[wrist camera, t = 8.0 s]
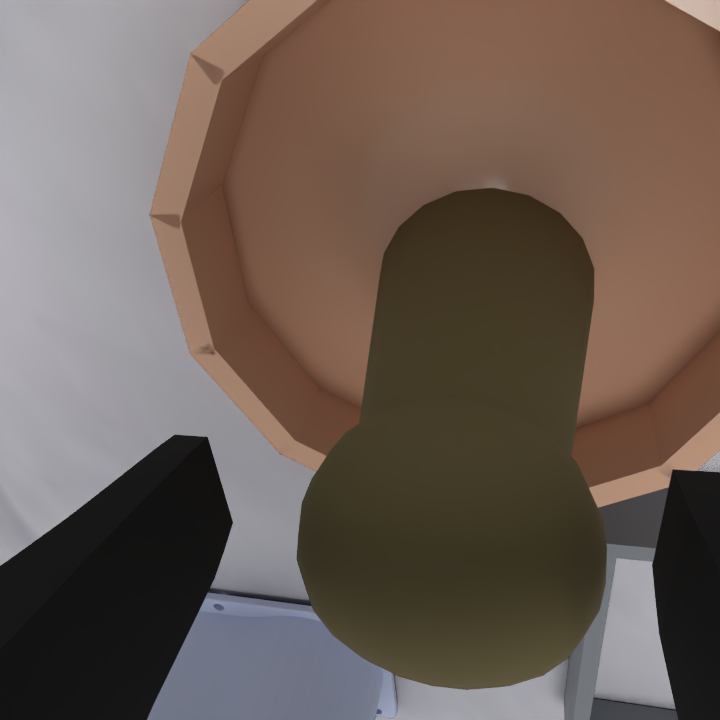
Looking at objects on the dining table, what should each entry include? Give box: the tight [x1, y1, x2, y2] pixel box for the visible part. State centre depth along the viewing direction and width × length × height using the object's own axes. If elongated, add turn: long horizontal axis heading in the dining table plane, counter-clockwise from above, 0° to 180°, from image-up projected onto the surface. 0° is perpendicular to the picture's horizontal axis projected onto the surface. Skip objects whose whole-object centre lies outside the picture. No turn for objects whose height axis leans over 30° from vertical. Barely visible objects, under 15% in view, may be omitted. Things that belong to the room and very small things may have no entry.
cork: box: [297, 188, 607, 690], centre depth 15 cm, size 6×6×11 cm
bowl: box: [150, 0, 720, 507], centre depth 17 cm, size 16×16×4 cm
